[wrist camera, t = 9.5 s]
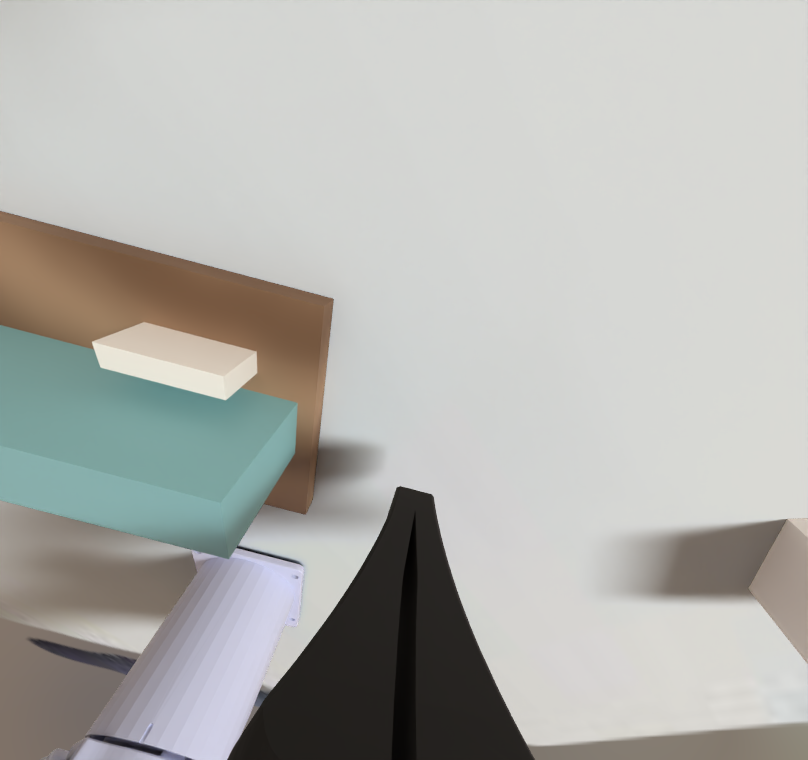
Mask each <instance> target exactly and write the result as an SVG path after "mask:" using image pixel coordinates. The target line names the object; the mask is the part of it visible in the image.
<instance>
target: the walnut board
mask: <svg viewBox="0 0 808 760" xmlns="http://www.w3.org/2000/svg"><path fill="white" fill-rule="evenodd" d="M333 300H334V299H332V298H328V297H324V296H321V295H317V294H313V293H309V292H305V291H302V290H298V289H294V288H290V287H286V286H283V285H279V284H275V283H271V282H267V281H264V280H260V279H256V278H252V277H248V276H245V275H241V274H237V273H233V272H229V271H226V270H222V269H218V268H214V267H210V266H207V265H203V264H199V263H195V262H191V261H188V260H184V259H180V258H176V257H173V256H169V255H165V254H161V253H157V252H154V251H150V250H146V249H142V248H138V247H135V246H131V245H127V244H123V243H119V242H116V241H112V240H108V239H104V238H100V237H97V236H93V235H89V234H85V233H81V232H78V231H74V230H70V229H66V228H62V227H59V226H55V225H51V224H47V223H44V222H40V221H36V220H32V219H28V218H25V217H21V216H17V215H13V214H9V213H6V212H2V211H0V325H2V326H6V327H10V328H14V329H17V330H21V331H25V332H29V333H33V334H37V335H40V336H44V337H48V338H52V339H56V340H59V341H63V342H67V343H71V344H75V345H79V346H82V347H86V348H90V349H94V347H93V344H92V342H93V341H95V340H98V339H101V338H103V337H106V336H109V335H111V334H114V333H116V332H119V331H122V330H124V329H127V328H130V327H132V326H135V325H138V324H140V323H143V322H146V323H150V324H154V325H157V326H161V327H165V328H169V329H173V330H176V331H180V332H184V333H188V334H192V335H195V336H199V337H203V338H207V339H211V340H215V341H218V342H222V343H226V344H230V345H234V346H237V347H241V348H245V349H249V350H253V351H256V352H257V374H256V375H255V376H253V377H252V378H251V379H250V380H249V381H248V382H246V383H245V384H244V385H243V386H242V387H241V388H243V389H247V390H251V391H254V392H258V393H262V394H266V395H270V396H274V397H277V398H281V399H285V400H289V401H293V402H296V403H298V406H297V426H296V445H295V454H294V456H293V457H292V459H291V460H290V462H289V464H288V465H287V467H286V468H285V470H284V472H283V473H282V475H281V476H280V478H279V480H278V481H277V483H276V485H275V486H274V488H273V489H272V491H271V493H270V494H269V496H268V497H267V499H266V501H265V502H264V504H266V505H270V506H274V507H278V508H282V509H286V510H289V511H293V512H297V513H301V514H305V515H306V513H307V511H308V508H309V506H310V504H311V502H312V500H313V491H314V482H315V472H316V463H317V453H318V444H319V434H320V424H321V415H322V405H323V396H324V386H325V376H326V367H327V357H328V348H329V338H330V329H331V319H332V309H333Z"/></svg>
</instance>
